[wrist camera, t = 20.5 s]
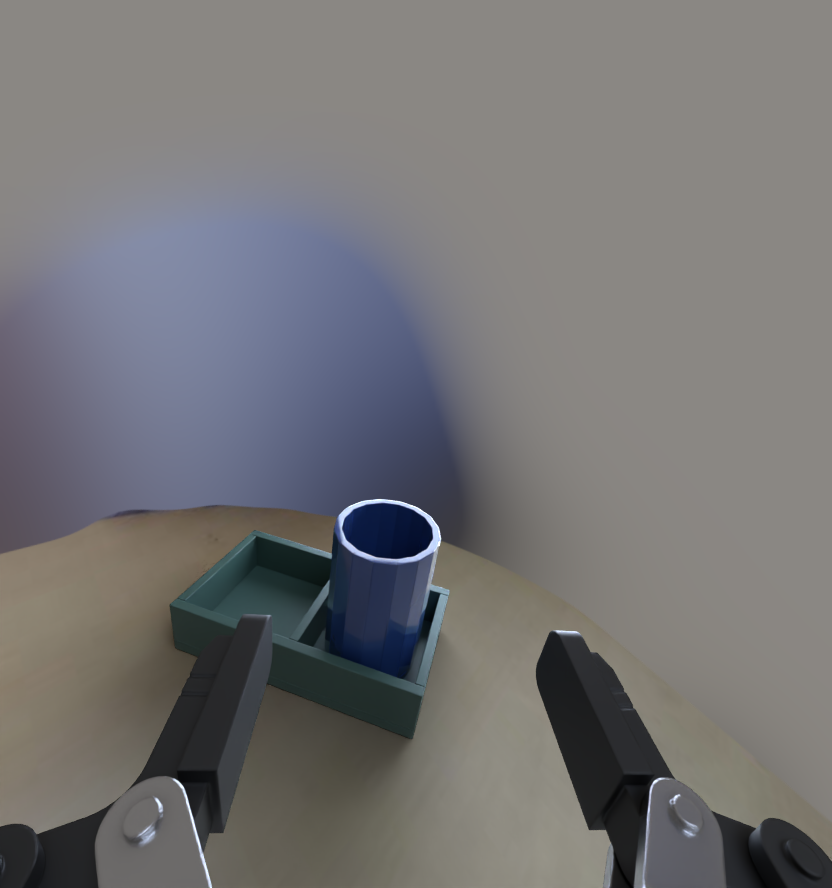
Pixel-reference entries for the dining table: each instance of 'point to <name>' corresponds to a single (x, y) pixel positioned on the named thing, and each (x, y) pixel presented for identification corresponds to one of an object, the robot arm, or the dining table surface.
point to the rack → (302, 630)
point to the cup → (380, 584)
